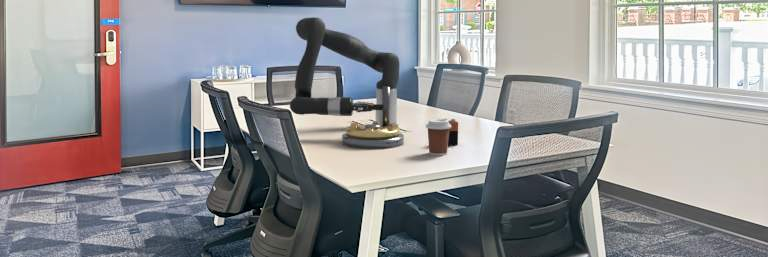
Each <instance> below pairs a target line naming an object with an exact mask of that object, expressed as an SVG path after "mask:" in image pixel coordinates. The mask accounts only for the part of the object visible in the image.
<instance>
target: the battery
mask: <svg viewBox="0 0 768 257" xmlns="http://www.w3.org/2000/svg"><path fill="white" fill-rule="evenodd" d="M443 119H444V120H448V118H443ZM448 121H449V124H450V125H451V128H450V129H449V139H448V146H458V143H459V121H457V120H456V119H455V118H451V119H450V120H448Z"/></svg>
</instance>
